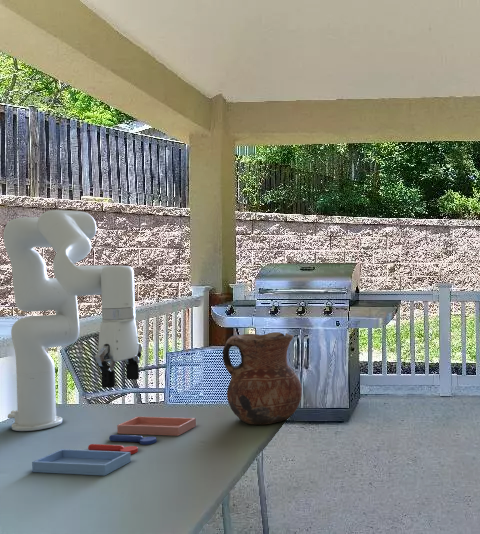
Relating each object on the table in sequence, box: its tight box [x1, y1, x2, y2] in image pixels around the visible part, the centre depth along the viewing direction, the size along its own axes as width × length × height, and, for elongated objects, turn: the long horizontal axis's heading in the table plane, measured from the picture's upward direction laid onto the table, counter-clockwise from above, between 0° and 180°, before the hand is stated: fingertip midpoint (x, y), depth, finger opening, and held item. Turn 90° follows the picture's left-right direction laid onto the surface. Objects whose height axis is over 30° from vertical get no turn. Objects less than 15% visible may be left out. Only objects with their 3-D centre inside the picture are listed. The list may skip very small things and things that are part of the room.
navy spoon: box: [108, 434, 158, 446], centre depth 158 cm, size 13×4×2 cm, turn 80°
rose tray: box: [116, 416, 197, 437], centre depth 168 cm, size 18×9×2 cm, turn 80°
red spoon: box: [87, 443, 139, 455], centre depth 150 cm, size 13×4×2 cm, turn 80°
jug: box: [222, 331, 303, 426], centre depth 177 cm, size 22×21×25 cm
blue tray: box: [31, 448, 132, 477], centre depth 139 cm, size 18×9×2 cm, turn 80°
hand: (121, 383), depth 152 cm, fingers open, 9 cm apart
